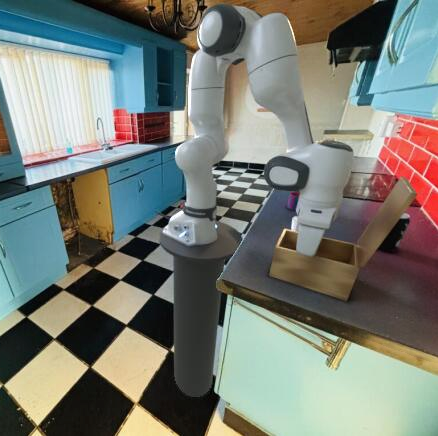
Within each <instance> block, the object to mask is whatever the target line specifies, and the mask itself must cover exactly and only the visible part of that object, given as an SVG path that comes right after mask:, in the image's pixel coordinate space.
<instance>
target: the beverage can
mask: <svg viewBox="0 0 438 436" xmlns="http://www.w3.org/2000/svg"><path fill="white" fill-rule="evenodd" d="M410 218H411V215H409V214H408V213H405V212H404V213H403V215H402V216H401V218H400V219H399V220H398V222H397V223H396V224H395V226H394V227H393V228H392V230H391V231H390V232H389V234H388V235H387V236H386V238H385V239H384V240H383V242H382V243H381V244H380V246H379V247H378V248H377V250H379V251H382V252H387V253H388V252H389V253H391V252H394V251H397V250H398V249H399V246H400V244H401V243H402V240H403V238H404V236H405V234H406V232H407V229H408V228H409V224H410V223H411V219H410Z"/></svg>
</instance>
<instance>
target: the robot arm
mask: <svg viewBox="0 0 438 436" xmlns="http://www.w3.org/2000/svg"><path fill="white" fill-rule="evenodd" d="M196 36H197V37H196V39H197V44H198V47H199V48H200V49H197V51H196V52H195V53H194V54H193V56H192V59H191V65H190V71H189V79H188V101H187V102H188V103H187V104H188V106H187V107H188V109H187V113H188V114H187V116H188V119H189V121H190V122H191V124H192V126H193V131H194V137H191V138H188V139H186V140H185V141H183V142H182V143H181V144H179V145H178V146H177V148H176V150H175V154H174V159H175V163H176V165H177V167H178V168H179V169H180V170H181V171H182V173H183V177H184V179H185V186H186V200H185V201H184V202H182V204H181V205H180V209H181V210H180V211H178V212H174V213H173V215H172V216H171V217H169V216H167V215H165V214H164V213H161V212H160V211H158V210H155V213H156V214H158V215H159V216H160V217H161V216H162V217H163V218H165V219H167V220H168V224H167V225H165V226H166V227H165V226H164V227H165V228H164V227H163V228H164V229H163V228H162V229H163V234H164V235H166V236H168V237H170V238H172V239H175V240H177V241H179V242H181V243H183V244H185V245H188V246H194V245H203V244H209V243H212V242H214V241H216V240H217V238H218V236H217V232H216V228H217V226H216V224H215V221H216V218H217V214H218V210H217V209H218V204H217V194H218V184H217V182H216V181H215V178H214V174H213V166H214V165H216V164H218V163H220V162H221V161H223V159H224V158H225V157H226V156H227V154H228V152H229V149H230V145H229V142H228V140H227V138H226V132H225V125H224V103H225V88H226V75H227V71H228V68H229V67H230V66H231V65H233V66H237V65H239V64H241V63H243V62H245V66H246V72H247V77H248V78H247V79H248V84H249V89H250V92H251V95H252V98H253V100H254V101H255V103H256V104H257V105H259V106H260V107H262V108H264V109H266V110H268V111H269V112H271V114H272V113H273V115H275V117H276V118H277V119H278V121H279V122H280V125H281V129H282V133H283V137H284V142H285V145H286V152H284V153H281V154H277V155H275V156H274V157H271V158H269V160H268V161H267V163H266V164H265V166H264V169H263V177H264V180H265V183H266V184H267V185H268V186H269V187H270V188H271V189H273V190H277V191H284V192H285V191H287V192H300V195H299V200H298V204H297V208H296V211H295V212H296V214H297V215H296V216H298V218H297V223H299V229H298V237H297V247H296V251H297V253H298V254H301V255H305V256H309V257H313V256H314V255H315V253H316V251H317V249H318V247H319V244H320V242H321V240H322V238H323V237H324V235H325V233H326V231H327V230H329V229H330V228H331V226H332V224H333V222H334V221H335V220H336V219H337V218H338V216H339V213H340V210H341V207H342V204H343V201H344V189H345V188H346V186H347V185H348V183H349V180H350V177H351V174H352V170H353V165H354V160H355V158H354V157H355V153H354V149H353V148H352V147H351V145H350V144H348V143H347V144H346V143H345V142H341V141H337V140H329V139H320V140H316V141H315V142H314V139H313V135H312V129H311V125H310V120H309V119H310V118H309V115H308V110H307V105H306V102H305V98H304V92H303V85H302V77H301V69H300V68H301V67H300V60H299V54H298V48H297V43H296V39H295V35H294V32H293V28H292V26H291V23H290V21H289V18H288V17H287V16H286V14H284V13H281V12H272V13H269V14H267V15H264V16H263V15H262V14H261V13H260V12H256V11H253V9H250V8H247V7H245V6H238V5H233V4H230V3H225V2H223V3H221V2H220V3H217V4H214V5H212V6H210V7H209V8H207V9H206V10H205V12H204V13H203V14H202V16H201V18H200V20H199V23H198V26H197V32H196Z"/></svg>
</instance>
